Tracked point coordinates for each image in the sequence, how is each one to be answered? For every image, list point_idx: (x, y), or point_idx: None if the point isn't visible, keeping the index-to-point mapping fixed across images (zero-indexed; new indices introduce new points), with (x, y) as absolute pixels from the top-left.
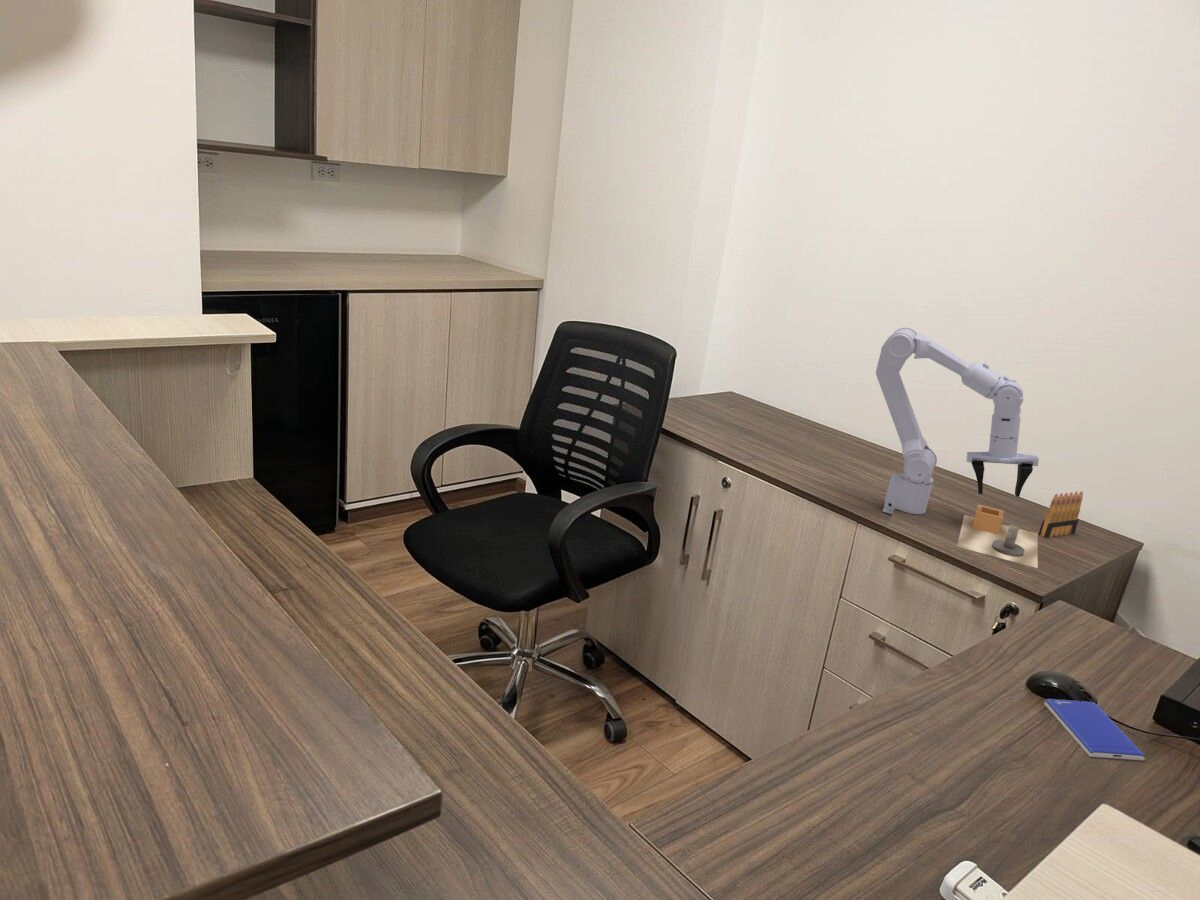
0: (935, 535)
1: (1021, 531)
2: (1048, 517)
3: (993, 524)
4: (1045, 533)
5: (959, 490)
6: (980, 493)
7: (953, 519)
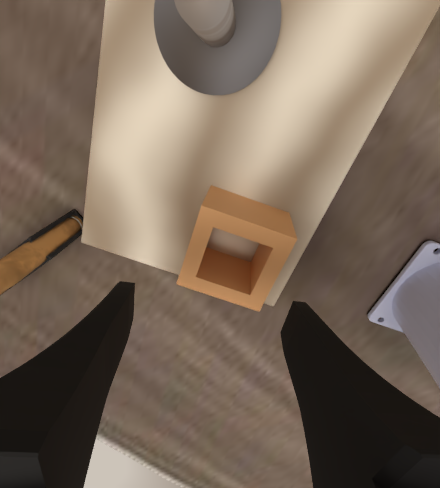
0: (437, 144)
1: (127, 240)
2: (24, 254)
3: (230, 202)
4: (56, 223)
5: (217, 438)
6: (301, 304)
7: (298, 295)
